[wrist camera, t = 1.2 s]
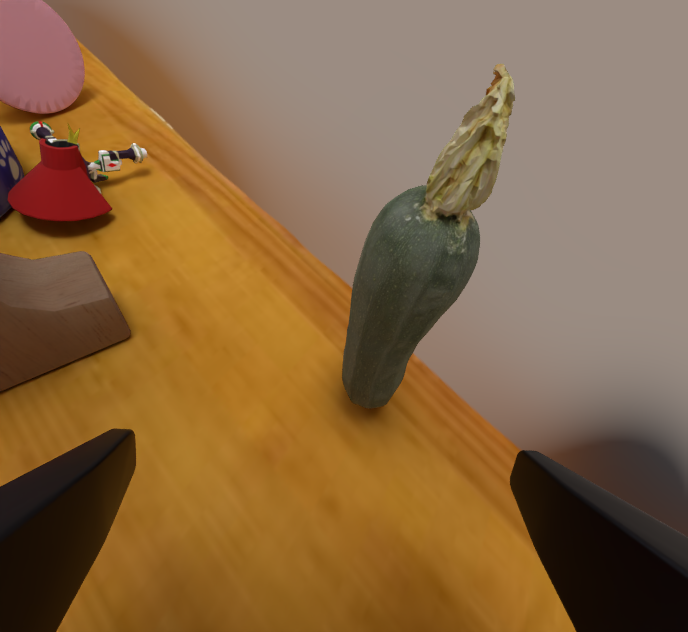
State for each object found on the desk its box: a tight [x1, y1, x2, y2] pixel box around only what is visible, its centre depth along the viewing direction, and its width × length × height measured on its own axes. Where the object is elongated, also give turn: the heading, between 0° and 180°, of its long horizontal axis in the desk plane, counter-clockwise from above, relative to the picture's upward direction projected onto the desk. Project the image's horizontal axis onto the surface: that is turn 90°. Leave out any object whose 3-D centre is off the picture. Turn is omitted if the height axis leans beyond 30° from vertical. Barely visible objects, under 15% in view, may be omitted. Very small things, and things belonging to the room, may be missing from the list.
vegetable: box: [342, 64, 515, 409], centre depth 18 cm, size 4×4×20 cm
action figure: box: [8, 121, 147, 221], centre depth 30 cm, size 9×10×6 cm
